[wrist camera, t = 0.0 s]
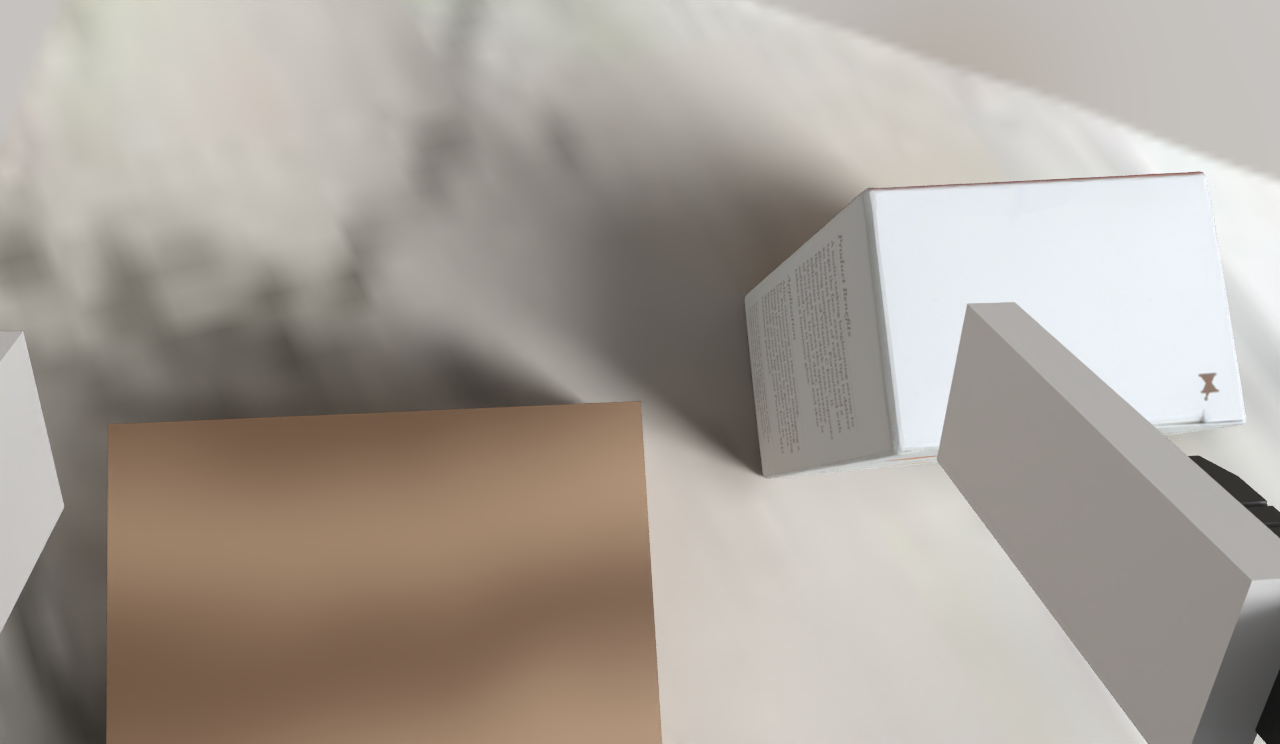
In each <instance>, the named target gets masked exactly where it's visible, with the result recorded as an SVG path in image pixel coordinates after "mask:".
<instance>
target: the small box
mask: <svg viewBox="0 0 1280 744" xmlns="http://www.w3.org/2000/svg"><path fill="white" fill-rule="evenodd" d="M1001 302H1015V303H1016V304H1017V305H1019V306H1020V307H1021V308H1022V309H1023V310H1024V311H1025V312H1026V313H1028V314H1029V315H1030V316H1031V317H1032V318H1033V319H1034V320H1035V321H1037V322H1038V323H1039V324H1040V325H1041V326H1042V327H1043V328H1044V329H1045V330H1047V331H1048V332H1049V333H1050V334H1051V335H1052V336H1053V337H1054V338H1056V339H1057V340H1058V341H1059V342H1060V343H1061V344H1062V345H1063V346H1065V347H1066V348H1067V349H1068V350H1069V351H1070V352H1071V353H1072V354H1074V355H1075V356H1076V357H1077V358H1078V359H1079V360H1080V361H1081V362H1083V363H1084V364H1085V365H1086V366H1087V367H1088V368H1089V369H1090V370H1091V371H1093V372H1094V373H1095V374H1096V375H1097V376H1098V377H1099V378H1100V379H1102V380H1103V381H1104V382H1105V383H1106V384H1107V385H1108V386H1109V387H1111V388H1112V389H1113V390H1114V391H1115V392H1116V393H1117V394H1118V395H1120V396H1121V397H1122V398H1123V399H1124V400H1125V401H1126V402H1127V403H1129V404H1130V405H1131V406H1132V407H1133V408H1134V409H1135V410H1136V411H1138V412H1139V413H1140V414H1141V415H1142V416H1143V417H1144V418H1145V419H1146V420H1148V421H1149V422H1150V423H1151V424H1152V425H1153V426H1154V427H1155V428H1157V429H1158V430H1159V431H1160V432H1161V433H1162V434H1163V435H1164V436H1165V435H1173V434H1180V433H1187V432H1194V431H1201V430H1208V429H1215V428H1223V427H1231V426H1239V425H1243V424H1244V423H1245V421H1246V414H1245V408H1244V401H1243V395H1242V389H1241V383H1240V375H1239V368H1238V362H1237V357H1236V350H1235V344H1234V337H1233V332H1232V326H1231V320H1230V314H1229V308H1228V301H1227V295H1226V289H1225V283H1224V277H1223V271H1222V265H1221V259H1220V252H1219V246H1218V240H1217V234H1216V227H1215V222H1214V217H1213V210H1212V205H1211V200H1210V195H1209V191H1208V182H1207V177H1206V175H1205V174H1204V173H1203V172H1188V173H1167V174H1147V175H1130V176H1110V177H1091V178H1070V179H1052V180H1032V181H1013V182H993V183H975V184H951V185H931V186H912V187H893V188H868V189H866V190H865V191H863V192H862V193H861V194H859V195H858V196H857V197H856V198H855V199H854V200H853V201H852V202H851V203H849V204H848V205H847V206H846V207H845V208H844V209H843V210H842V211H840V212H839V213H838V214H837V215H836V216H835V217H834V218H833V219H831V220H830V221H829V222H828V223H827V224H826V225H825V226H824V227H822V228H821V229H820V230H819V231H818V232H817V233H815V234H814V235H813V236H812V237H811V238H810V239H809V240H808V241H806V242H805V243H804V244H803V245H802V246H801V247H800V248H799V249H798V250H796V251H795V252H794V253H793V254H792V255H791V256H790V257H789V258H787V259H786V260H785V261H784V262H783V263H782V264H780V265H779V266H778V267H777V268H776V269H775V270H774V271H773V272H771V273H770V274H769V275H768V276H767V277H766V278H765V279H764V280H762V281H761V282H760V283H759V284H758V285H757V286H756V287H755V288H754V289H752V290H751V291H750V292H749V293H748V294H747V295H746V296H745V310H746V320H747V331H748V341H749V351H750V361H751V370H752V380H753V389H754V399H755V408H756V418H757V427H758V437H759V446H760V454H761V462H762V471H763V475H764V477H765V478H768V479H771V478H782V477H792V476H802V475H812V474H823V473H835V472H845V471H856V470H866V469H876V468H887V467H898V466H909V465H921V464H932V463H938V461H937V455H938V450H939V445H940V440H941V434H942V429H943V424H944V419H945V414H946V409H947V404H948V399H949V394H950V389H951V383H952V378H953V373H954V368H955V363H956V358H957V353H958V348H959V343H960V337H961V332H962V327H963V322H964V317H965V312H966V307H967V303H1001Z"/></svg>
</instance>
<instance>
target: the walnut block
mask: <svg viewBox="0 0 1280 744" xmlns="http://www.w3.org/2000/svg"><path fill="white" fill-rule="evenodd" d="M106 744H662V736H661V720H660V704H659V687H658V671H657V655H656V639H655V623H654V607H653V591H652V575H651V559H650V543H649V527H648V511H647V495H646V479H645V462H644V446H643V430H642V414H641V401H632V402H609V403H586V404H563V405H540V406H517V407H494V408H471V409H448V410H424V411H401V412H378V413H355V414H332V415H309V416H286V417H263V418H240V419H217V420H194V421H170V422H147V423H124V424H108V515H107V714H106Z"/></svg>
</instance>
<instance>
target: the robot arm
mask: <svg viewBox="0 0 1280 744" xmlns="http://www.w3.org/2000/svg"><path fill="white" fill-rule="evenodd" d="M937 461H938V463H939V464H940V465H941V467H942V468H943V469H944V471H945V472H946V473H947V475H948V476H949V477H950V479H951V480H952V481H953V483H954V484H955V485H956V487H957V488H958V489H959V491H960V492H961V493H962V495H963V496H964V497H965V499H966V500H967V501H968V503H969V504H970V506H971V507H972V508H973V510H974V511H975V512H976V514H977V515H978V516H979V518H980V519H981V520H982V522H983V523H984V524H985V526H986V527H987V528H988V530H989V531H990V532H991V534H992V535H993V536H994V538H995V539H996V540H997V542H998V543H999V544H1000V546H1001V547H1002V548H1003V550H1004V551H1005V552H1006V554H1007V555H1008V556H1009V558H1010V559H1011V561H1012V562H1013V563H1014V565H1015V566H1016V567H1017V569H1018V570H1019V571H1020V573H1021V574H1022V575H1023V577H1024V578H1025V579H1026V581H1027V582H1028V583H1029V585H1030V586H1031V587H1032V589H1033V590H1034V591H1035V593H1036V594H1037V595H1038V597H1039V598H1040V599H1041V601H1042V602H1043V603H1044V605H1045V606H1046V607H1047V609H1048V610H1049V611H1050V613H1051V614H1052V616H1053V617H1054V618H1055V620H1056V621H1057V622H1058V624H1059V625H1060V626H1061V628H1062V629H1063V630H1064V632H1065V633H1066V634H1067V636H1068V637H1069V638H1070V640H1071V641H1072V642H1073V644H1074V645H1075V646H1076V648H1077V649H1078V650H1079V652H1080V653H1081V654H1082V656H1083V657H1084V658H1085V660H1086V661H1087V662H1088V664H1089V665H1090V666H1091V668H1092V669H1093V671H1094V672H1095V673H1096V675H1097V676H1098V677H1099V679H1100V680H1101V681H1102V683H1103V684H1104V685H1105V687H1106V688H1107V689H1108V691H1109V692H1110V693H1111V695H1112V696H1113V697H1114V699H1115V700H1116V701H1117V703H1118V704H1119V705H1120V707H1121V708H1122V709H1123V711H1124V712H1125V713H1126V715H1127V716H1128V717H1129V719H1130V720H1131V721H1132V723H1133V724H1134V726H1135V727H1136V728H1137V730H1138V731H1139V732H1140V734H1141V735H1142V736H1143V738H1144V739H1145V740H1146V742H1147V743H1148V744H1253V742H1254V740H1255V737H1256V735H1257V733H1258V735H1259V736H1260V737H1261V738H1262V739H1263V740H1264V741H1265V743H1266V744H1280V512H1279V511H1278V510H1277V509H1276V508H1274V507H1273V506H1267V501H1266V500H1265V499H1264V498H1263V497H1262V496H1260V495H1259V494H1258V493H1257V492H1256V491H1255V490H1253V489H1252V488H1251V487H1250V486H1249V485H1248V484H1246V483H1245V482H1244V481H1243V480H1242V479H1241V478H1239V477H1238V476H1236V475H1235V474H1233V473H1231V472H1229V471H1227V470H1225V469H1223V468H1221V467H1219V466H1217V465H1216V464H1214V463H1212V462H1210V461H1208V460H1206V459H1204V458H1202V457H1200V456H1187V455H1186V454H1185V453H1184V452H1182V451H1181V450H1180V449H1179V448H1178V447H1177V446H1176V445H1175V444H1173V443H1172V442H1171V441H1170V440H1169V439H1168V438H1167V437H1166V436H1164V435H1163V434H1162V433H1161V432H1160V431H1159V430H1158V429H1157V428H1155V427H1154V426H1153V425H1152V424H1151V423H1150V422H1149V421H1148V420H1146V419H1145V418H1144V417H1143V416H1142V415H1141V414H1140V413H1139V412H1138V411H1136V410H1135V409H1134V408H1133V407H1132V406H1131V405H1130V404H1129V403H1127V402H1126V401H1125V400H1124V399H1123V398H1122V397H1121V396H1120V395H1118V394H1117V393H1116V392H1115V391H1114V390H1113V389H1112V388H1111V387H1109V386H1108V385H1107V384H1106V383H1105V382H1104V381H1103V380H1102V379H1100V378H1099V377H1098V376H1097V375H1096V374H1095V373H1094V372H1093V371H1091V370H1090V369H1089V368H1088V367H1087V366H1086V365H1085V364H1084V363H1083V362H1081V361H1080V360H1079V359H1078V358H1077V357H1076V356H1075V355H1074V354H1072V353H1071V352H1070V351H1069V350H1068V349H1067V348H1066V347H1065V346H1063V345H1062V344H1061V343H1060V342H1059V341H1058V340H1057V339H1056V338H1054V337H1053V336H1052V335H1051V334H1050V333H1049V332H1048V331H1047V330H1045V329H1044V328H1043V327H1042V326H1041V325H1040V324H1039V323H1038V322H1037V321H1035V320H1034V319H1033V318H1032V317H1031V316H1030V315H1029V314H1028V313H1026V312H1025V311H1024V310H1023V309H1022V308H1021V307H1020V306H1019V305H1017V304H1016V303H1015V302H1001V303H967V307H966V312H965V317H964V322H963V327H962V332H961V337H960V343H959V348H958V353H957V358H956V363H955V368H954V373H953V378H952V383H951V389H950V394H949V399H948V404H947V409H946V414H945V419H944V424H943V429H942V434H941V440H940V445H939V450H938V455H937ZM63 509H64V502H63V498H62V494H61V490H60V485H59V481H58V477H57V473H56V468H55V464H54V460H53V456H52V451H51V447H50V443H49V439H48V434H47V430H46V426H45V422H44V417H43V413H42V409H41V405H40V400H39V396H38V392H37V388H36V383H35V379H34V375H33V370H32V366H31V362H30V358H29V353H28V349H27V345H26V341H25V336H24V332H23V331H6V332H0V633H1V631H2V629H3V627H4V625H5V623H6V621H7V619H8V617H9V615H10V613H11V611H12V609H13V607H14V605H15V603H16V601H17V599H18V597H19V595H20V594H21V592H22V590H23V588H24V586H25V584H26V582H27V580H28V578H29V576H30V574H31V572H32V570H33V568H34V566H35V564H36V562H37V560H38V558H39V556H40V554H41V552H42V550H43V548H44V546H45V544H46V542H47V540H48V538H49V536H50V534H51V532H52V530H53V528H54V526H55V524H56V522H57V520H58V519H59V517H60V515H61V513H62V511H63Z"/></svg>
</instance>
